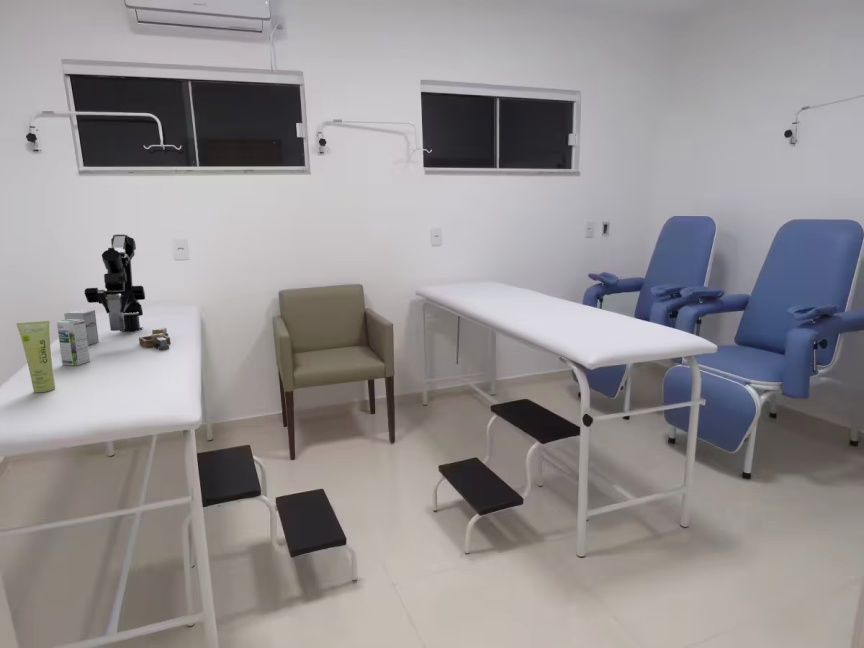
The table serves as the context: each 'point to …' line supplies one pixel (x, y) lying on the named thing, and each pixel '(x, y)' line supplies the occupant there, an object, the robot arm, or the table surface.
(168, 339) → the hollow wooden square frame
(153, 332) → the grey and wooden pieces
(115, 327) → the grey cylinder
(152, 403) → the table surface
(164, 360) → the table surface
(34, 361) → the tube
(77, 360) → the syrup box
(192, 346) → the table surface
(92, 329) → the supplement box
